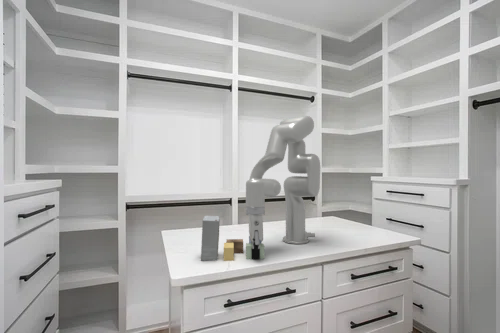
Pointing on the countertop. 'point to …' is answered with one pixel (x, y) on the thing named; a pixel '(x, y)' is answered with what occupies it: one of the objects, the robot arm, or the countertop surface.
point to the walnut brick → (236, 245)
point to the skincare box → (210, 238)
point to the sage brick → (249, 250)
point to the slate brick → (250, 240)
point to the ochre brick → (228, 251)
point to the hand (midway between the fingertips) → (255, 256)
